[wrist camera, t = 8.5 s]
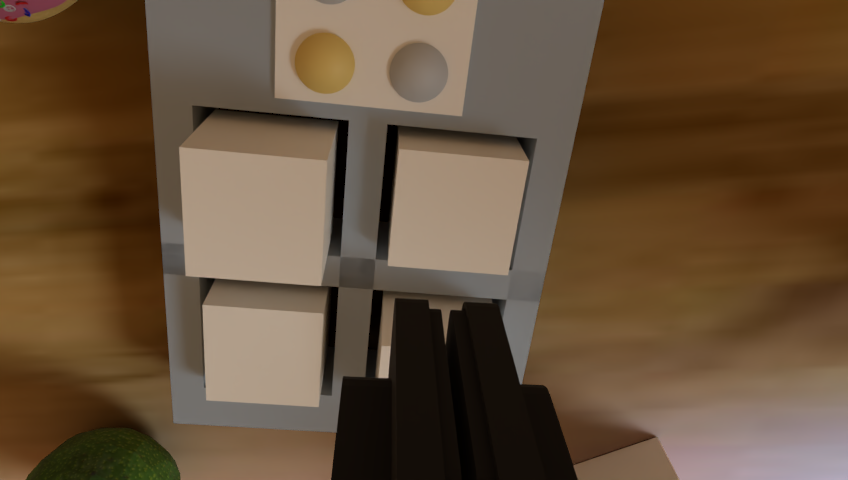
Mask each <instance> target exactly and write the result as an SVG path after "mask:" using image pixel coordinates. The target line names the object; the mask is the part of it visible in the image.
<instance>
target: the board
mask: <svg viewBox="0 0 848 480" xmlns="http://www.w3.org/2000/svg"><path fill="white" fill-rule="evenodd" d="M603 4H604V0H145V9H146V24H147V39H148V53H149V68H150V83H151V98H152V112H153V127H154V142H155V157H156V171H157V186H158V201H159V216H160V230H161V245H162V260H163V275H164V290H165V304H166V319H167V334H168V349H169V363H170V378H171V393H172V408H173V422H174V423H179V424H196V425H214V426H231V427H248V428H266V429H283V430H300V431H317V432H335V433H336V432H337V423H338V414H339V405H340V396H341V387H342V379H343V376H350V377H372V378H375V370H376V359H377V350H371V349H368V339H369V327H370V316H371V305H372V293H373V290H385V291H398V292H411V293H425V294H438V295H451V296H464V297H477V298H490V299H492V303H496V304H498V306H499V308H500V312H501V316H502V319H503V323H504V327H505V330H506V334H507V338H508V341H509V345H510V349H511V352H512V356H513V360H514V363H515V367H516V371H517V374H518V378H519V382H520V384H522V381H523V376H524V372H525V367H526V362H527V358H528V353H529V348H530V344H531V339H532V334H533V330H534V325H535V320H536V316H537V311H538V306H539V302H540V297H541V293H542V288H543V283H544V279H545V274H546V269H547V265H548V260H549V255H550V251H551V246H552V241H553V237H554V232H555V227H556V223H557V218H558V213H559V209H560V204H561V200H562V195H563V190H564V186H565V181H566V176H567V172H568V167H569V162H570V158H571V153H572V148H573V144H574V139H575V134H576V130H577V125H578V120H579V116H580V111H581V106H582V102H583V97H584V93H585V88H586V83H587V79H588V74H589V69H590V65H591V60H592V55H593V51H594V46H595V41H596V37H597V32H598V27H599V23H600V18H601V13H602V9H603ZM218 108H225V109H236V110H246V111H256V112H267V113H277V114H287V115H298V116H308V117H318V118H329V119H339V120H349V130H348V146H347V162H346V178H345V194H344V210H343V219H342V218H333V230H332V235H331V240H330V245H329V250H328V255H327V260H326V265H325V269H324V274H323V279H322V284H321V286H332V287H339V290H338V306H337V322H336V338H335V347H328V351H327V357H326V363H325V370H324V376H323V382H322V389H321V395H320V401H319V407H307V406H291V405H274V404H258V403H241V402H225V401H208V400H206V383H205V358H204V333H203V308H202V305H203V303H204V301H205V299H206V297H207V295H208V293H209V291H210V289H211V287H212V285H213V283H214V281H215V279H216V278H206V277H192V276H186V273H185V253H184V234H183V214H182V195H181V175H180V156H179V147H180V146H181V145H182V144H183V143H184V141H185V140H186V139H187V138H188V137H189V136H190V135H191V134H192V133H193V132H194V131H195V130H196V129H197V128H198V127H199V126H200V125H201V124H202V123H203V122H204V121H205V120H206V118H207V117H208V116H209V115H210V114H211V113H212V112H213V111H214V110H215V109H217V110H218ZM387 124H391V125H401V126H412V127H422V128H432V129H443V130H453V131H463V132H474V133H484V134H494V135H505V136H515V137H516V138H517V140H518V142H519V144H520V145H521V147H522V149H523V151H524V152H525V154H526V156H527V158H528V160H529V166H528V171H527V176H526V182H525V187H524V192H523V198H522V203H521V208H520V214H519V219H518V224H517V230H516V235H515V240H514V246H513V251H512V256H511V262H510V267H509V272H508V275H496V274H484V273H471V272H458V271H446V270H433V269H420V268H408V267H395V266H388V232H389V222H379V214H380V203H381V192H382V180H383V169H384V158H385V146H386V135H387Z"/></svg>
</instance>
